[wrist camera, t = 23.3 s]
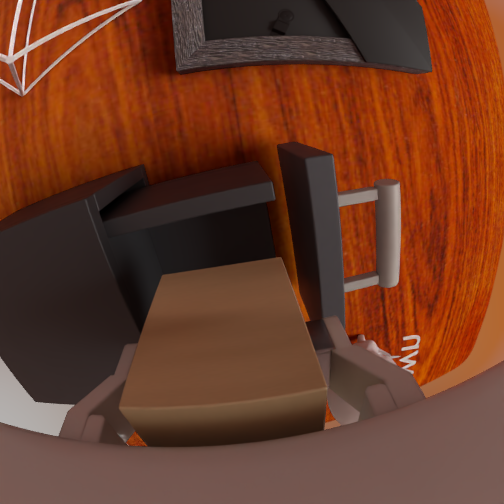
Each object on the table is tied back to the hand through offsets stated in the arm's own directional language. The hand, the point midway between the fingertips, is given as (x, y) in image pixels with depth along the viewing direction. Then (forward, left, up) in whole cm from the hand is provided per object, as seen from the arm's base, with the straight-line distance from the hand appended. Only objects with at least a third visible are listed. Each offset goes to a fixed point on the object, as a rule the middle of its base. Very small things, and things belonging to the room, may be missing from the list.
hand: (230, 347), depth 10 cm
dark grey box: (+7, +7, -11) cm, 15 cm away
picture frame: (+8, -20, -11) cm, 25 cm away
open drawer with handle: (-1, -1, -10) cm, 10 cm away
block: (0, 0, -2) cm, 2 cm away
